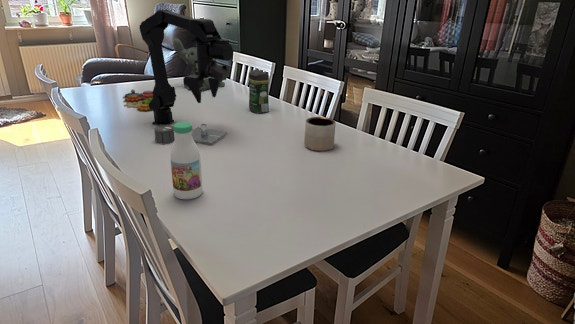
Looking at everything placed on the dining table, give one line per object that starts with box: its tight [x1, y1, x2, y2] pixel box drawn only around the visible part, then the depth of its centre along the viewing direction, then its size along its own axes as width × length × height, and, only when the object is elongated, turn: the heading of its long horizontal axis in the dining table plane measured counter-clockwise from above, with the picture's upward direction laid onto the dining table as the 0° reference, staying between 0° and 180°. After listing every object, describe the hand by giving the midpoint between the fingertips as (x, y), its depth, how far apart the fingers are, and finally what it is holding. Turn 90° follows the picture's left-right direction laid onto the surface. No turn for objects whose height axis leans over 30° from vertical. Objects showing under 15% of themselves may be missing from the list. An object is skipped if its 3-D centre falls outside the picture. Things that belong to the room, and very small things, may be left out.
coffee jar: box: [248, 69, 270, 114], centre depth 174 cm, size 10×8×19 cm
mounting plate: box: [192, 123, 229, 146], centre depth 144 cm, size 13×13×5 cm
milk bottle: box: [169, 121, 203, 200], centre depth 102 cm, size 8×8×20 cm
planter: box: [303, 116, 337, 152], centre depth 139 cm, size 11×11×10 cm
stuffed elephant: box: [172, 37, 226, 92], centre depth 208 cm, size 19×21×27 cm
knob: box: [153, 124, 175, 145], centre depth 140 cm, size 7×7×5 cm
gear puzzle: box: [122, 89, 153, 112], centre depth 183 cm, size 31×16×4 cm, turn 23°
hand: (206, 100), depth 143 cm, fingers open, 9 cm apart
